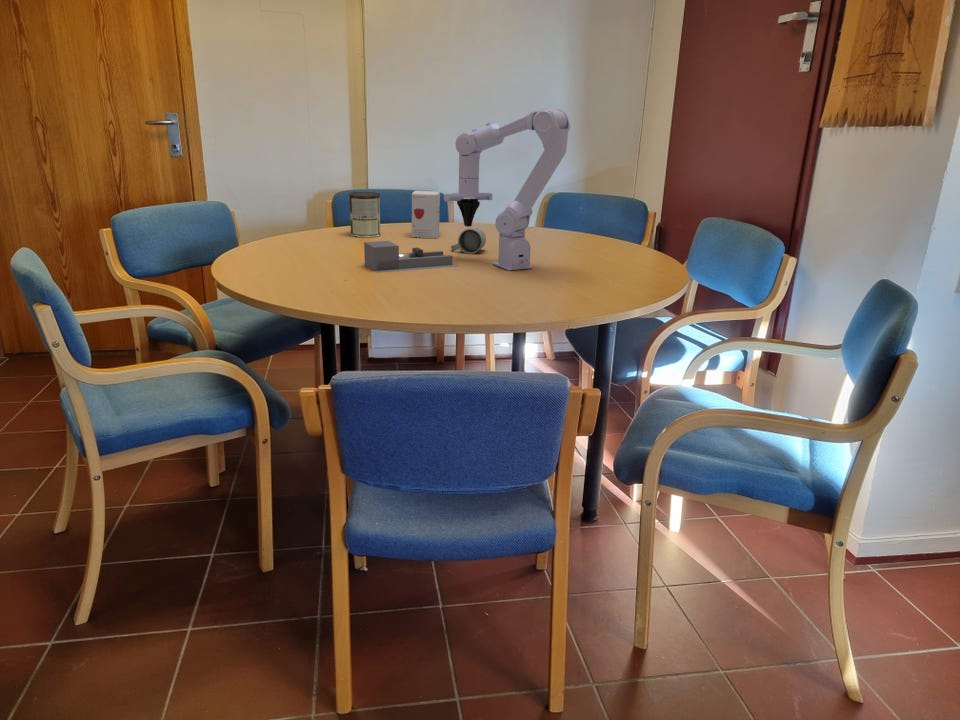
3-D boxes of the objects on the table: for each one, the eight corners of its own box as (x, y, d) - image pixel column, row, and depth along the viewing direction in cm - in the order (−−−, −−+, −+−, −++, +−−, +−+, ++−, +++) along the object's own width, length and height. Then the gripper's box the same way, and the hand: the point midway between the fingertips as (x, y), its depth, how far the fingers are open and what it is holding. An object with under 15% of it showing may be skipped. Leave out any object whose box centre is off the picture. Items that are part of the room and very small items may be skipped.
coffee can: (344, 234, 240) (343, 192, 235) (370, 231, 247) (369, 191, 242) (360, 238, 233) (358, 195, 228) (386, 236, 239) (385, 194, 234)
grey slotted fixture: (458, 267, 195) (459, 243, 192) (376, 274, 184) (376, 248, 182) (441, 259, 205) (441, 236, 202) (362, 265, 194) (361, 240, 192)
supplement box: (410, 238, 237) (410, 193, 232) (414, 233, 246) (414, 190, 241) (437, 238, 237) (437, 194, 232) (439, 234, 245) (440, 191, 240)
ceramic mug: (486, 249, 221) (487, 225, 218) (481, 254, 213) (482, 229, 211) (454, 248, 223) (454, 224, 220) (448, 253, 215) (448, 228, 213)
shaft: (423, 264, 194) (423, 250, 193) (390, 266, 190) (390, 252, 188) (417, 261, 197) (417, 247, 196) (385, 264, 193) (385, 249, 192)
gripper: (485, 176, 204) (483, 222, 208) (439, 176, 198) (439, 225, 202) (496, 178, 198) (494, 226, 203) (450, 179, 192) (449, 228, 196)
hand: (467, 226), depth 202 cm, fingers closed
